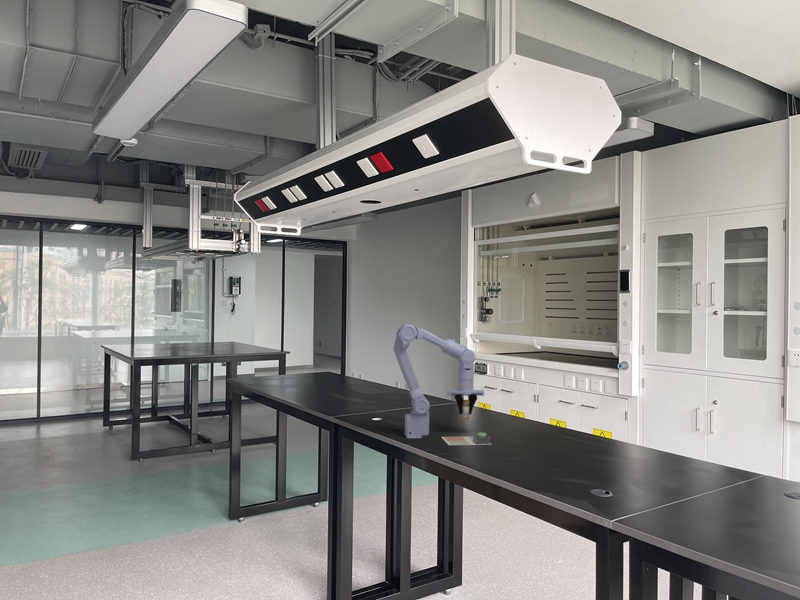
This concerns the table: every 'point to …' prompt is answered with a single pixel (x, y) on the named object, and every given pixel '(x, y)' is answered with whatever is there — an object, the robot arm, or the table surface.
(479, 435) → the button
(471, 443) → the board
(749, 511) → the table surface
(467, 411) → the orange and grey cylinder
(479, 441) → the button housing
